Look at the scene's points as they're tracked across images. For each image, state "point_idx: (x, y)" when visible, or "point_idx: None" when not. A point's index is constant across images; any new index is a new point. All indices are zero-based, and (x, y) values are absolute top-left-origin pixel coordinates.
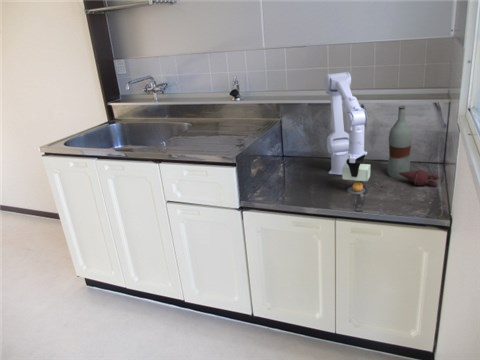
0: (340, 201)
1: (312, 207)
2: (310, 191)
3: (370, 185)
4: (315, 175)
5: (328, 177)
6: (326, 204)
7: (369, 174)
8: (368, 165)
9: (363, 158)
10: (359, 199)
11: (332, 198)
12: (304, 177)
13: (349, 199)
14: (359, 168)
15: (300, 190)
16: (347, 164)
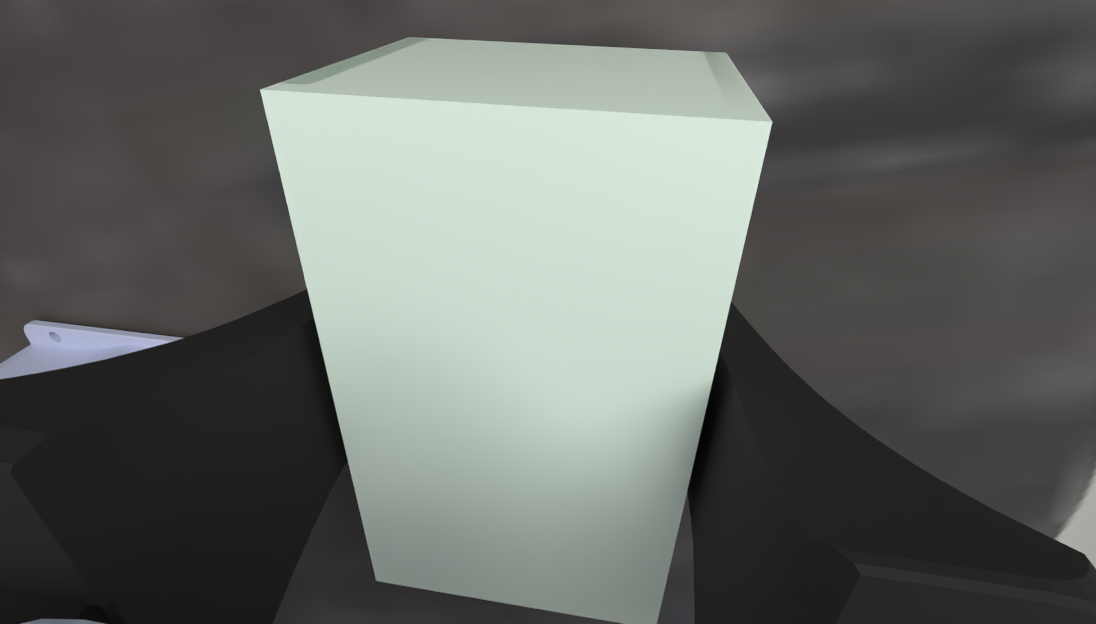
0: (914, 322)
1: (1043, 531)
2: (675, 561)
3: (368, 25)
4: (348, 548)
5: (344, 468)
6: (985, 437)
7: (480, 51)
8: (360, 142)
9: (185, 397)
10: (861, 107)
11: (827, 401)
12: (416, 603)
13: (858, 234)
14: (647, 356)
15: (665, 614)
16: (448, 561)
